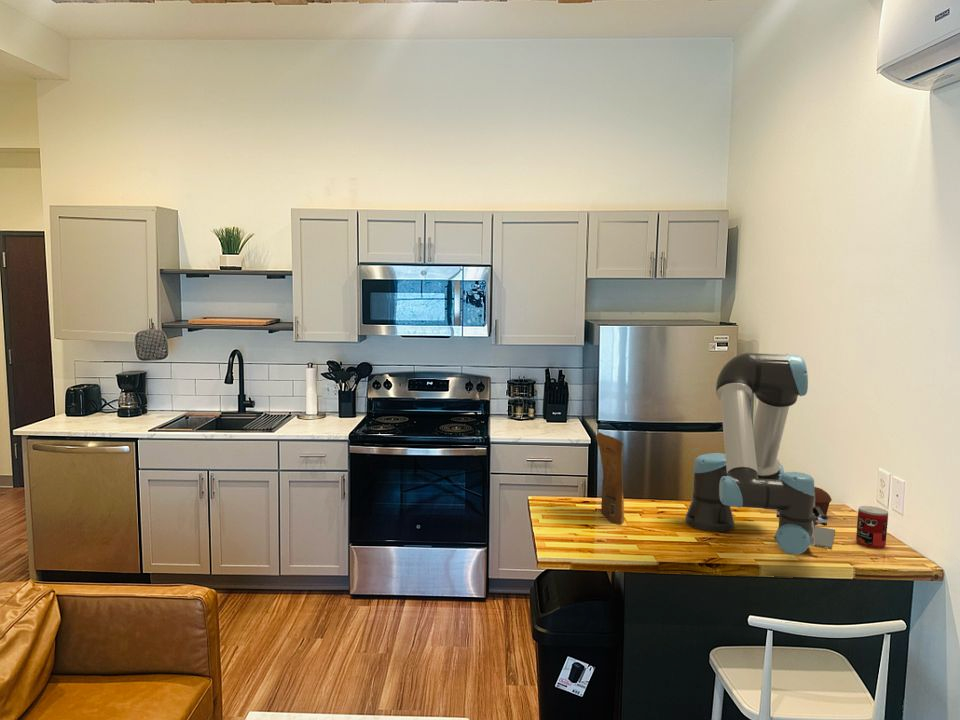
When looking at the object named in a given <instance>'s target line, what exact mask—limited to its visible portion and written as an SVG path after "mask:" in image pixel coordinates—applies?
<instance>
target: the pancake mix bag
mask: <svg viewBox="0 0 960 720" xmlns="http://www.w3.org/2000/svg"><path fill="white" fill-rule="evenodd" d="M595 439H596V443H597V445H598V449H599V454H600V462H601V469H602V485H601V505H600V507H601V510H600V514H602V515H603V516H604V517H605V519H607V520H608V521H609V522H610V523H611V524H616V525H623V524H622V523H624V520H625V507H624V505H625V504H624V479H623V475H624V474H623V472H624V469H623V468H624V466H623V449H624V443H623V442H622V441H621V440H620V439H618V438H616V437H613V436H610V435H606V434H604V433H601V432H599V431H598V432H597V433H596V435H595Z"/></svg>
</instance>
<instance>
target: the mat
mask: <svg viewBox="0 0 960 720" xmlns="http://www.w3.org/2000/svg"><path fill="white" fill-rule="evenodd" d="M778 529H779V526H778V527H777V530H776V532H775V534H774V536H773V539H774V538H775V540H776V536H777V531H778ZM835 533H836V529H833V528H828V527H821V526H817V525H815V545H816V546H815V547H817V545H818V546H822V547H828V548H832V549H833V545H834V539H835V536H836V535H835ZM822 547H821V548H822ZM828 548H827V549H828Z"/></svg>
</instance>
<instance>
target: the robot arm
mask: <svg viewBox="0 0 960 720" xmlns="http://www.w3.org/2000/svg"><path fill="white" fill-rule="evenodd" d="M806 364H807V363H806V361H805V359H804V358H803V357H802V356H801V355H798V354H797V355H796V354H788V353H786V354H775V353H758V352H757V353H755V352H745V353H741V354H738V355H736V356H734V357H732V358H731V359H729V361H727V362H726V363H725V364H724V365H723V367H722V369H721V370H720V372H719V374H718V377H717V379H716V385H715V392H716V397H717V399H718V400H719V401H720V407H721V408H720V409H721V417H722V420H721V421H722V430H723V442H724V453H722V452H714V453H713V452H712V453H711V452H710V453H704V454H701V455H698V456H697V457H696V458H695V460H694V463H693V464H694V465H693V466H694V467H693V470H692V471H693V481H692V482H693V483H692V498H691V502H690V504H689V507H688V509H687V511H686V514H685V523H686V524H687V525H688V526H690V527H692V528H694V529H697V530H701V531H706V532H715V533H717V532H718V533H719V532H720V533H722V532H730V531H731V530H733V529H734V528H735V519H734V516H733V512H732V508H731V507H735V508H740V509H741V508H748V509H749V508H751V509H763V510H771V511H772V510H774V511H776V518H778V527H779V529H778V528H777V530H778V531H777V530H776V532H777V536H776V539H775V540H776V544H777V546H778V547H779V548H780V549H781V550H782V551H783V552H784V553H786V554H789V555H792V556H793V555H794V556H796V555H801V554H803V553H804V552H806V551H807V549H808V548H809V547H810V546H809V545H810V540H811V536H812V533H813V531H814V528H815V526H817V525H822V526H826V527H827V526H828V515H824V514H823V512H822V510H821V509H820V507H819V506H815V507H813V502H814V496H815V494H814V487H815V480H814V478H813V477H812V476H811V475H810V474H807V473H804V472H801V471H800V472H798V471H784V467H783V465H782V463H781V462H780V460H779V459H778V455H779V450H780V445H781V442H782V438H783V433H784V430H785V425H786V423H787V418H788V414H789V409H790V407H792V406H793V405H795V404H796V403H797V401H798V397H803V396H806V395H807V393H808V387H809V376H808V369H807V365H806ZM753 394H754V395H755V398H756V399H757V405H756V410H755V415H754V420H753V421H752V409H751V403H750V399H751V398H752V397H753ZM812 513H814V515H815V516H814V515H813V514H812Z"/></svg>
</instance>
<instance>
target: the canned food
mask: <svg viewBox="0 0 960 720" xmlns="http://www.w3.org/2000/svg"><path fill="white" fill-rule="evenodd" d="M888 520H889V511H888V510H886V509H884V508H882V507H877V506H871V505H861V506H858V509H857V520H856V521H857V522H856V534H855V540H856V543H857V544H859V546H862V547H865V548H870V549H884V548H885V547H886V544H887V535H888V534H887V533H888V525H889V524H888Z"/></svg>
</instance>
